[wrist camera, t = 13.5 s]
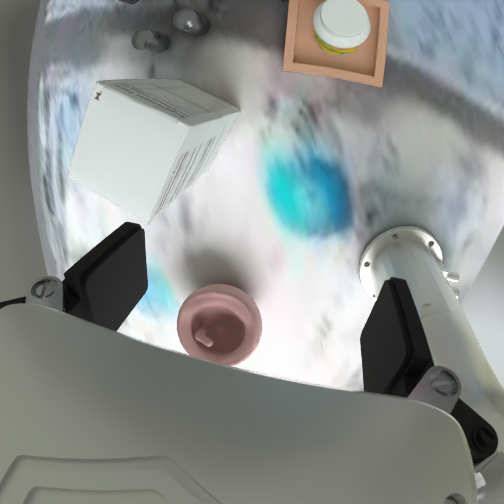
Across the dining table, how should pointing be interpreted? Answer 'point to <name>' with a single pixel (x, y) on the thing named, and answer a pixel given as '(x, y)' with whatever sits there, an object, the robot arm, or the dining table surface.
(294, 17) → the dish
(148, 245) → the dining table surface
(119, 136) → the supplement box
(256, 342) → the mortar and pestle
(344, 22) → the supplement bottle
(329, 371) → the dining table surface
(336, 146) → the dining table surface
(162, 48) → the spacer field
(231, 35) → the dining table surface
